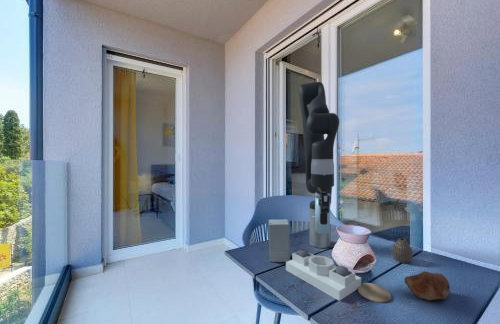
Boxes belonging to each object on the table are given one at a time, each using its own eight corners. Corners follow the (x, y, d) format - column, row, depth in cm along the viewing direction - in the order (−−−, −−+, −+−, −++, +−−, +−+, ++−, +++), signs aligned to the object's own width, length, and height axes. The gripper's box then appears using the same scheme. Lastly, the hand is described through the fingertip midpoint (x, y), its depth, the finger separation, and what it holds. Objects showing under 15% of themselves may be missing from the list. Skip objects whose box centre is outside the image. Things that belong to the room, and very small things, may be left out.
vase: (393, 263, 89) (394, 241, 89) (390, 255, 96) (390, 235, 95) (414, 266, 87) (415, 243, 86) (409, 258, 93) (410, 237, 93)
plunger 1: (302, 256, 88) (302, 248, 88) (310, 259, 85) (310, 251, 85) (296, 258, 86) (296, 250, 85) (303, 262, 83) (303, 254, 83)
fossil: (405, 289, 66) (414, 256, 69) (393, 287, 74) (401, 257, 77) (456, 315, 62) (463, 278, 65) (438, 310, 69) (444, 277, 73)
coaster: (366, 281, 76) (366, 279, 76) (396, 295, 69) (396, 293, 69) (351, 291, 71) (351, 289, 71) (382, 306, 64) (382, 304, 64)
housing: (307, 261, 91) (307, 246, 91) (361, 286, 73) (361, 268, 73) (285, 270, 84) (285, 254, 84) (339, 300, 66) (339, 280, 66)
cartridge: (313, 228, 81) (313, 192, 81) (328, 229, 80) (329, 192, 80) (315, 233, 76) (315, 195, 76) (331, 234, 75) (331, 195, 75)
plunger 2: (340, 273, 75) (340, 264, 75) (350, 278, 72) (350, 269, 72) (333, 277, 73) (333, 267, 72) (343, 282, 70) (344, 272, 70)
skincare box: (288, 255, 96) (288, 218, 96) (290, 263, 89) (290, 223, 89) (268, 254, 97) (268, 218, 97) (268, 262, 90) (268, 223, 89)
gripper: (309, 170, 85) (309, 215, 86) (313, 174, 71) (313, 228, 72) (330, 170, 84) (330, 216, 85) (338, 174, 70) (338, 229, 70)
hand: (322, 221), depth 78 cm, fingers closed on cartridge, 5 cm apart
